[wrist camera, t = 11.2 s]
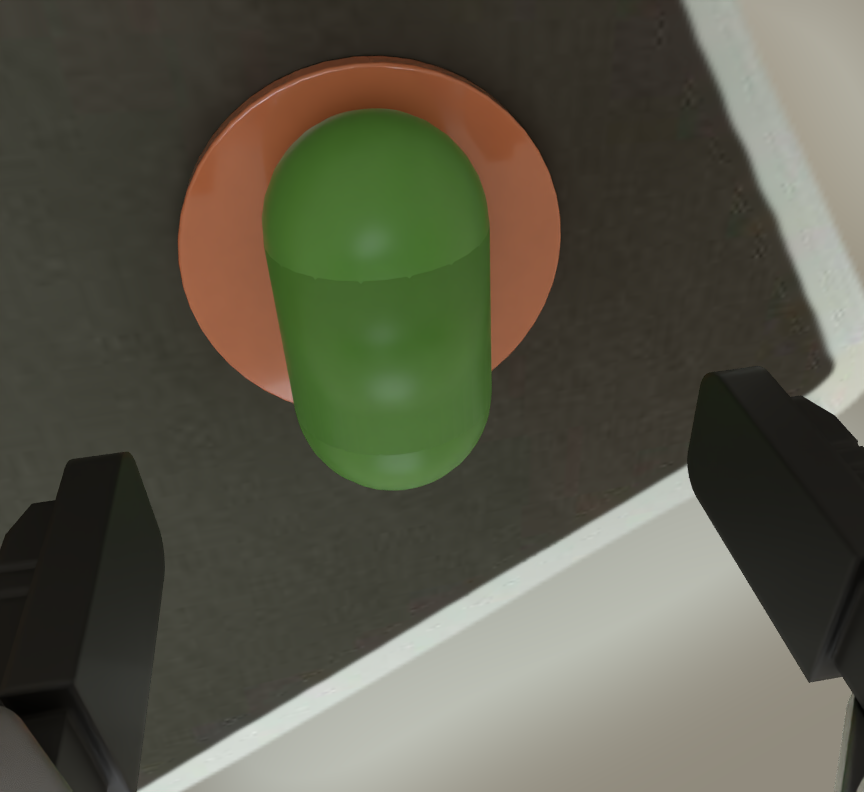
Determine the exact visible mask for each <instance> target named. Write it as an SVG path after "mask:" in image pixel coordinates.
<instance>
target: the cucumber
mask: <svg viewBox="0 0 864 792" xmlns="http://www.w3.org/2000/svg"><path fill="white" fill-rule="evenodd" d="M262 228H263V241H264V249H265V254H266V260H267V265H268V270H269V276H270V281H271V286H272V291H273V297H274V302H275V307H276V312H277V318H278V323H279V328H280V333H281V339H282V344H283V349H284V354H285V360H286V365H287V370H288V376H289V381H290V386H291V391H292V397H293V402H294V407H295V412H296V415H297V418H298V422H299V425H300V428H301V430H302V432H303V434H304V436H305V438H306V440H307V442H308V443H309V445H310V446H311V448H312V449H313V451H314V453H315V454H316V455H317V456H318V457H319V458H320V459H321V460H322V461H323V462H324V463H325V464H326V465H327V466H329V467H330V468H331V469H332V470H333V471H334V472H336V473H338V474H339V475H341V476H342V477H344V478H346V479H348V480H350V481H353V482H355V483H358V484H360V485H362V486H365V487H369V488H374V489H379V490H406V489H411V488H416V487H420V486H423V485H426V484H429V483H432V482H434V481H435V480H437V479H439V478H441V477H443V476H444V475H446V474H447V473H449V472H450V471H451V470H453V469H454V468H455V467H457V466H458V465H459V464H461V463H462V461H463V460H464V459H465V458H466V457H467V456H468V455H469V453H470V452H471V451H472V449H473V448H474V447H475V445H476V444H477V442H478V440H479V438H480V436H481V435H482V433H483V430H484V427H485V425H486V422H487V419H488V415H489V410H490V403H491V394H492V375H491V294H490V222H489V215H488V207H487V201H486V196H485V193H484V190H483V187H482V184H481V181H480V178H479V175H478V174H477V172H476V170H475V169H474V167H473V165H472V164H471V162H470V160H469V159H468V157H467V156H466V154H465V153H464V152H463V150H462V149H461V148H460V147H459V146H458V145H457V144H456V143H455V142H454V141H453V140H452V139H451V138H450V137H449V136H448V135H447V134H445V133H444V132H442V131H441V130H439V129H438V128H436V127H435V126H433V125H432V124H430V123H429V122H427V121H426V120H424V119H421V118H419V117H416V116H413V115H410V114H408V113H405V112H402V111H398V110H393V109H382V108H370V109H359V110H352V111H347V112H343V113H339V114H336V115H334V116H331V117H329V118H327V119H325V120H324V121H322V122H320V123H318V124H317V125H315V126H313V127H311V128H310V129H308V130H307V131H305V132H304V133H303V134H302V135H301V136H300V137H299V138H298V139H297V140H296V141H295V142H294V143H293V144H292V145H291V146H290V147H289V148H288V149H287V151H286V152H285V153H284V155H283V157H282V158H281V160H280V161H279V163H278V164H277V166H276V167H275V169H274V172H273V175H272V177H271V180H270V183H269V186H268V188H267V191H266V194H265V197H264V204H263V212H262Z"/></svg>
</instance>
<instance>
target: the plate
mask: <svg viewBox="0 0 864 792" xmlns="http://www.w3.org/2000/svg"><path fill="white" fill-rule="evenodd" d="M370 108H382V109H393V110H398V111H402V112H405V113H408V114H410V115H413V116H416V117H419V118H421V119H424V120H426V121H427V122H429V123H430V124H432V125H433V126H435V127H436V128H438V129H439V130H441V131H442V132H444V133H445V134H447V135H448V136H449V137H450V138H451V139H452V140H453V141H454V142H455V143H456V144H457V145H458V146H459V147H460V148H461V149H462V150H463V152H464V153H465V154H466V156H467V157H468V159H469V160H470V162H471V164H472V165H473V167H474V169H475V170H476V172H477V174H478V175H479V178H480V181H481V184H482V187H483V190H484V193H485V196H486V201H487V207H488V215H489V222H490V294H491V371H492V370H493V369H494V368H495V367H497V366H498V365H499V364H500V363H501V362H502V361H503V360H504V359H506V358H507V357H508V356H509V355H510V353H511V352H512V351H513V350H514V349H515V348H516V347H517V346H518V345H519V343H520V342H521V341H522V340H523V339H524V337H525V336H526V334H527V333H528V331H529V330H530V329H531V327H532V326H533V324H534V323H535V321H536V319H537V317H538V316H539V314H540V312H541V310H542V308H543V306H544V305H545V302H546V300H547V297H548V295H549V292H550V290H551V287H552V284H553V281H554V277H555V273H556V269H557V265H558V261H559V252H560V243H561V223H560V212H559V206H558V200H557V194H556V191H555V188H554V184H553V181H552V178H551V175H550V172H549V170H548V168H547V166H546V164H545V162H544V160H543V158H542V156H541V154H540V152H539V150H538V148H537V147H536V145H535V144H534V142H533V141H532V140H531V138H530V137H529V135H528V134H527V132H526V131H525V129H524V128H523V127H522V126H521V125H520V123H519V122H518V121H517V120H516V119H515V118H514V117H513V116H512V115H511V114H510V112H509V111H508V110H507V109H506V108H505V107H504V106H503V105H502V104H501V103H499V102H498V101H497V100H496V99H494V98H493V97H492V96H491V95H490V94H488V93H487V92H486V91H485V90H483V89H482V88H480V87H478V86H477V85H475V84H473V83H472V82H470V81H468V80H467V79H465V78H463V77H461V76H460V75H457V74H455V73H452V72H450V71H447V70H445V69H443V68H440V67H438V66H435V65H431V64H427V63H423V62H419V61H415V60H412V59H406V58H396V57H387V56H359V57H349V58H343V59H337V60H331V61H325V62H322V63H319V64H316V65H313V66H309V67H306V68H303V69H300V70H297V71H295V72H293V73H291V74H289V75H287V76H285V77H283V78H281V79H278V80H276V81H274V82H272V83H271V84H269V85H268V86H266V87H265V88H263V89H262V90H260V91H259V92H257V93H256V94H254V95H253V96H251V97H250V98H249V99H248V100H247V101H245V102H244V103H243V104H242V105H241V106H240V107H239V108H237V109H236V110H235V111H234V112H233V113H232V114H231V115H230V116H229V117H228V118H227V119H226V120H225V122H224V123H223V124H222V125H221V126H220V127H219V129H218V130H217V131H216V132H215V133H214V135H213V136H212V137H211V139H210V141H209V142H208V144H207V145H206V147H205V149H204V150H203V152H202V153H201V155H200V157H199V158H198V161H197V163H196V165H195V168H194V170H193V172H192V175H191V177H190V179H189V182H188V185H187V189H186V193H185V196H184V200H183V204H182V208H181V213H180V222H179V230H178V263H179V269H180V274H181V279H182V285H183V288H184V291H185V294H186V297H187V300H188V303H189V306H190V308H191V310H192V312H193V314H194V316H195V318H196V320H197V322H198V324H199V326H200V328H201V330H202V331H203V332H204V334H205V335H206V337H207V338H208V340H209V341H210V342H211V344H212V345H213V347H214V348H215V349H216V350H217V351H218V352H219V353H220V354H221V355H222V357H223V358H224V359H225V360H226V361H227V362H228V363H229V364H230V365H231V366H232V367H233V368H235V369H236V370H237V371H238V372H239V373H241V374H242V375H243V376H244V377H245V378H247V379H248V380H250V381H251V382H253V383H254V384H256V385H257V386H259V387H260V388H262V389H263V390H265V391H267V392H269V393H271V394H273V395H275V396H277V397H279V398H281V399H283V400H286V401H288V402H291V403H294V402H293V397H292V391H291V386H290V381H289V376H288V370H287V365H286V360H285V354H284V349H283V344H282V339H281V333H280V328H279V323H278V318H277V312H276V307H275V302H274V297H273V291H272V286H271V281H270V276H269V270H268V265H267V260H266V254H265V249H264V241H263V228H262V212H263V204H264V197H265V194H266V191H267V188H268V186H269V183H270V180H271V177H272V175H273V172H274V169H275V167H276V166H277V164H278V163H279V161H280V160H281V158H282V157H283V155H284V153H285V152H286V151H287V149H288V148H289V147H290V146H291V145H292V144H293V143H294V142H295V141H296V140H297V139H298V138H299V137H300V136H301V135H302V134H303V133H304V132H305V131H307V130H308V129H310V128H311V127H313V126H315V125H317V124H318V123H320V122H322V121H324V120H325V119H327V118H329V117H331V116H334V115H336V114H339V113H343V112H347V111H352V110H359V109H370Z"/></svg>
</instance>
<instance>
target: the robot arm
mask: <svg viewBox="0 0 864 792" xmlns="http://www.w3.org/2000/svg"><path fill="white" fill-rule="evenodd" d="M687 464H688V473H689V478H690V482H691V485H692V488H693V491H694V493H695V495H696V497H697V499H698V500H699V502H700V504H701V505H702V507H703V509H704V510H705V512H706V513H707V515H708V517H709V519H710V520H711V522H712V524H713V525H714V527H715V528H716V530H717V532H718V533H719V535H720V537H721V538H722V540H723V542H724V543H725V545H726V547H727V548H728V550H729V552H730V553H731V555H732V557H733V558H734V560H735V561H736V563H737V565H738V566H739V568H740V570H741V571H742V573H743V575H744V576H745V578H746V580H747V581H748V583H749V585H750V586H751V588H752V590H753V591H754V593H755V594H756V596H757V598H758V599H759V601H760V603H761V604H762V606H763V607H764V609H765V611H766V613H767V614H768V616H769V618H770V619H771V621H772V622H773V624H774V626H775V627H776V629H777V631H778V632H779V634H780V636H781V637H782V639H783V641H784V642H785V644H786V645H787V647H788V649H789V650H790V652H791V654H792V655H793V657H794V659H795V660H796V662H797V664H798V665H799V667H800V669H801V670H802V672H803V674H804V675H805V677H806V678H807V680H808V682H809V683H810V682H815V681H821V680H826V679H832V678H838V677H843V679H844V680H845V681H846V683H847V685H848V686H849V688H850V689H851V691H852V694H851V697H850V699H849V701H848V704H847V708H846V715H845V721H844V728H843V735H842V742H841V749H840V756H839V762H838V769H837V775H836V782H835V789H834V792H864V447H863V446H858V441H857V440H856V438H855V437H854V436H853V435H852V434H851V433H850V432H849V431H848V430H847V429H846V427H845V426H844V425H843V424H842V423H841V422H840V421H839V420H838V419H837V417H836V416H835V415H833V414H831V413H830V412H828V411H826V410H825V409H823V408H821V407H820V406H818V405H816V404H815V403H813V402H811V401H809V400H808V399H806V398H804V397H803V396H795V397H790V396H789V395H788V394H787V393H786V392H785V390H784V389H783V388H782V387H781V386H780V385H779V384H778V382H777V381H776V380H775V379H774V378H773V377H772V375H771V374H770V373H769V372H768V371H767V370H766V369H765V368H763V367H760V366H755V367H747V368H740V369H733V370H726V371H718V372H711V373H708V374H706V375H705V376H704V378H703V379H702V382H701V385H700V390H699V395H698V400H697V406H696V411H695V417H694V422H693V428H692V433H691V439H690V444H689V450H688V458H687ZM164 571H165V562H164V550H163V543H162V538H161V534H160V530H159V527H158V524H157V522H156V519H155V516H154V513H153V510H152V507H151V505H150V502H149V499H148V496H147V493H146V490H145V488H144V485H143V482H142V479H141V476H140V473H139V471H138V468H137V465H136V462H135V460H134V458H133V456H132V455H131V454H130V453H129V452H121V453H113V454H106V455H99V456H92V457H84V458H77V459H71V460H69V461H68V463H67V464H66V467H65V469H64V473H63V476H62V480H61V483H60V486H59V490H58V493H57V497H56V500H54V501H47V502H40V503H33V504H31V505H30V507H29V508H28V509H27V510H26V511H25V513H24V514H23V515H22V516H21V517H20V518H19V520H18V521H17V522H16V523H15V524H14V525H13V527H12V528H11V529H10V530H9V531H8V533H7V534H6V535H5V538H4V541H3V543H2V546H1V549H0V792H137V784H138V776H139V769H140V761H141V753H142V745H143V738H144V730H145V722H146V714H147V706H148V699H149V691H150V683H151V675H152V667H153V660H154V652H155V644H156V636H157V629H158V621H159V613H160V605H161V597H162V590H163V582H164Z"/></svg>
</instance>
